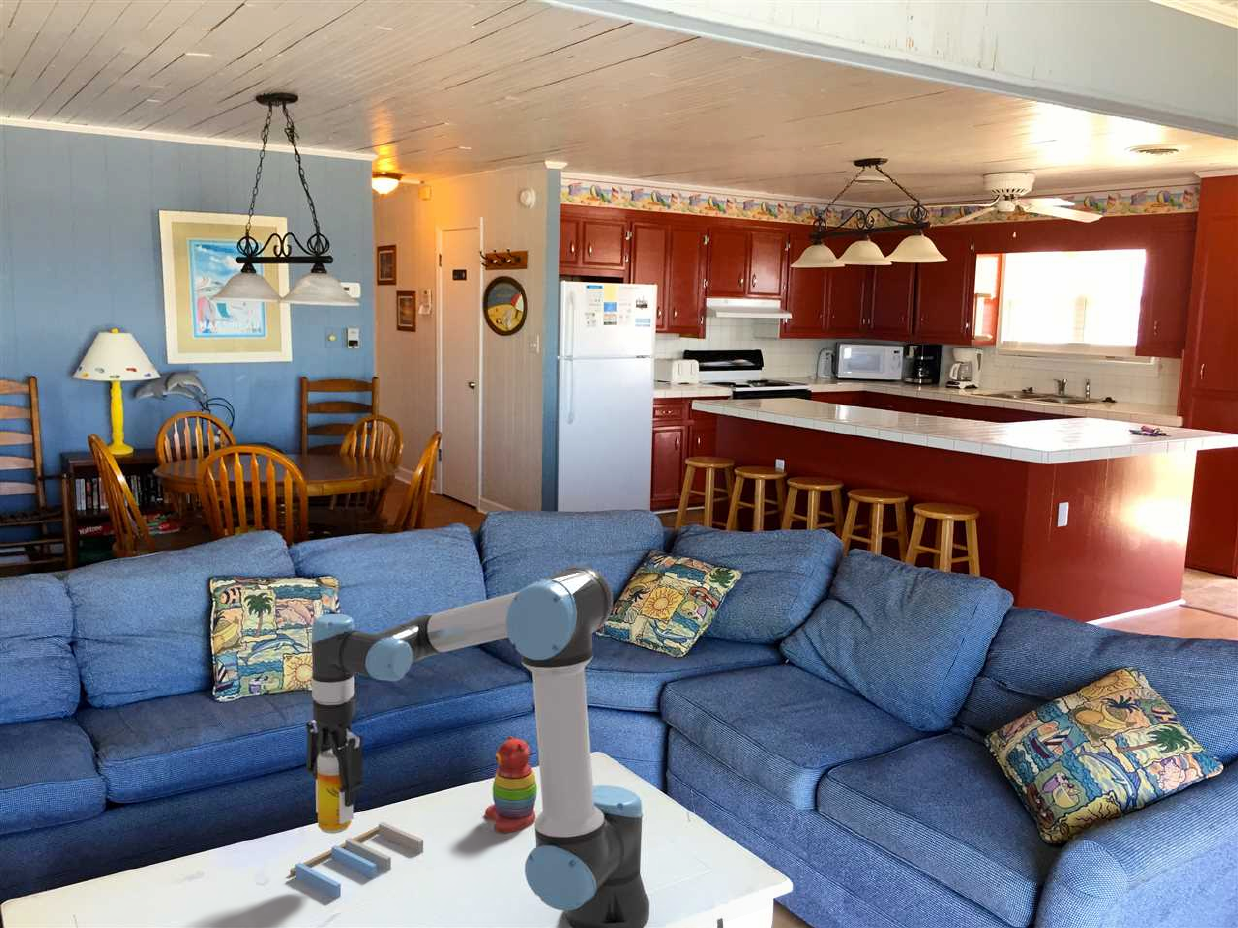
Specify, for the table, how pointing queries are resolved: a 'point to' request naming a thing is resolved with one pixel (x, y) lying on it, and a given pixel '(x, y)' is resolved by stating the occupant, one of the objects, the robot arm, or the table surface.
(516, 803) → the stacking bear
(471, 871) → the table surface
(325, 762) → the beer can
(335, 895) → the rack
